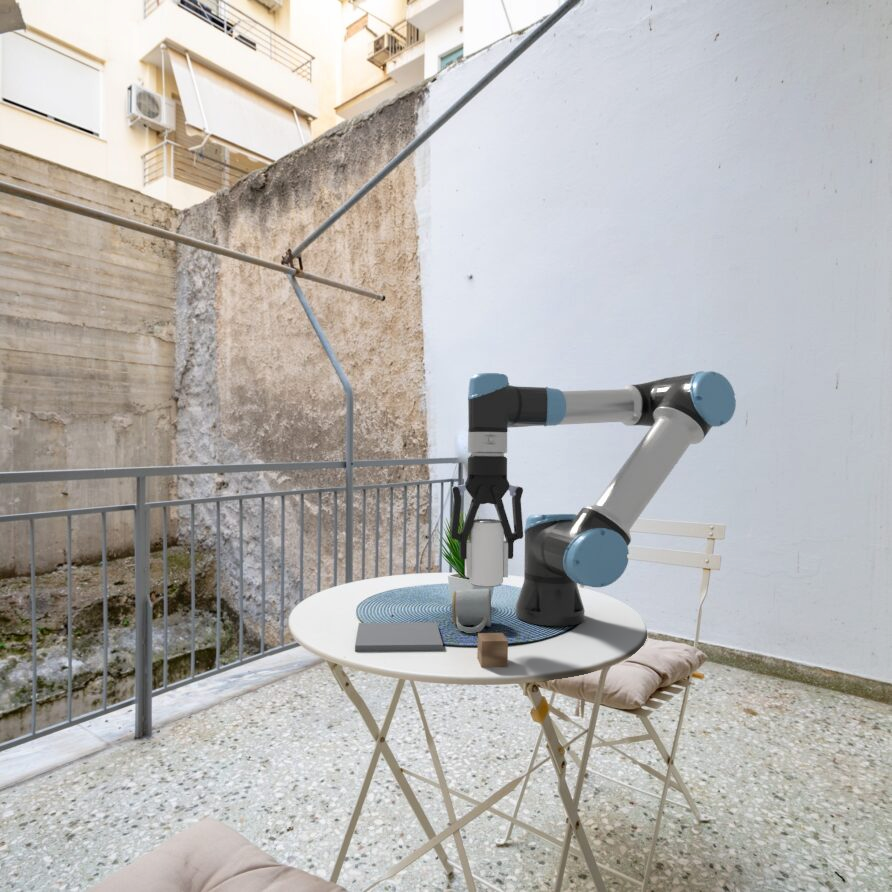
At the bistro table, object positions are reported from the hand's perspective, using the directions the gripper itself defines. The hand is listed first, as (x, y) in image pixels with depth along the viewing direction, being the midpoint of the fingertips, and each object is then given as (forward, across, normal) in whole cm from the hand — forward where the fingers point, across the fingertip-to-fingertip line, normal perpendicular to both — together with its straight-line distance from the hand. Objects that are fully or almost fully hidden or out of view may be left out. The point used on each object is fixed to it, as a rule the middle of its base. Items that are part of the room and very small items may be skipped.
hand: (486, 575), depth 111 cm
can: (+2, 0, 0) cm, 2 cm away
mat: (+13, -16, +4) cm, 21 cm away
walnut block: (+13, 0, -10) cm, 16 cm away
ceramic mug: (+13, -1, +11) cm, 18 cm away
